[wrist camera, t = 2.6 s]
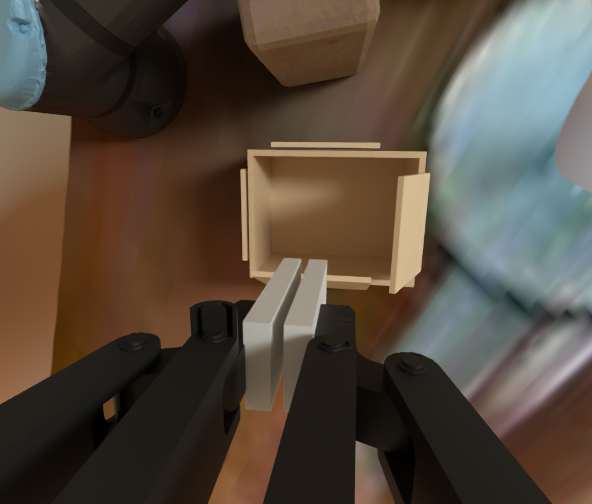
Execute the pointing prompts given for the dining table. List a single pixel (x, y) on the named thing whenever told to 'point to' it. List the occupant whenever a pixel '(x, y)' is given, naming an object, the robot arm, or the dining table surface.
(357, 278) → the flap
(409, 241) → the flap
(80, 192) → the dining table surface
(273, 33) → the wooden block
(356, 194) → the carton
